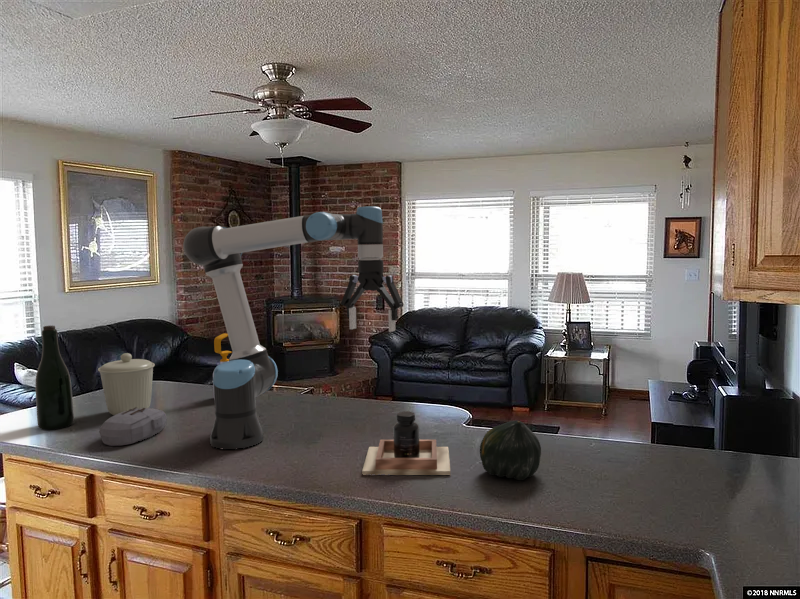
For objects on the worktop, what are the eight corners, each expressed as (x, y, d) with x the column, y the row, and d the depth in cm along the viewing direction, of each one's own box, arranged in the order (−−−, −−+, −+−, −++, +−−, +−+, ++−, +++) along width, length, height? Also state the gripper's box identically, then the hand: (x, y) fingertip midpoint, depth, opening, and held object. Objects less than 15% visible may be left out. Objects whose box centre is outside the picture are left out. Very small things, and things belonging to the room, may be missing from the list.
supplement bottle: (392, 454, 165) (391, 410, 163) (417, 452, 165) (417, 409, 164) (395, 463, 158) (394, 417, 157) (421, 461, 158) (420, 416, 157)
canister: (139, 403, 227) (135, 347, 225) (167, 410, 216) (164, 351, 214) (90, 415, 212) (86, 355, 210) (118, 423, 201) (115, 360, 199)
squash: (476, 440, 162) (482, 409, 151) (533, 442, 161) (543, 411, 150) (479, 491, 152) (485, 462, 141) (539, 493, 152) (550, 464, 141)
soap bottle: (243, 397, 232) (240, 333, 229) (221, 402, 225) (218, 336, 223) (230, 394, 238) (227, 331, 236) (209, 398, 231) (206, 334, 229)
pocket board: (362, 475, 153) (361, 461, 153) (369, 450, 171) (369, 438, 171) (450, 475, 152) (450, 461, 152) (448, 450, 170) (448, 437, 169)
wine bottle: (55, 432, 193) (47, 328, 190) (30, 429, 197) (22, 327, 194) (81, 422, 203) (75, 324, 200) (57, 420, 207) (50, 323, 203)
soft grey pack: (134, 426, 199) (87, 446, 180) (133, 401, 198) (85, 418, 179) (174, 429, 195) (130, 450, 175) (173, 403, 194) (128, 422, 175)
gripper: (413, 258, 179) (414, 330, 181) (342, 258, 191) (344, 326, 193) (402, 259, 173) (403, 334, 175) (328, 259, 184) (330, 329, 186)
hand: (372, 330), depth 184 cm, fingers open, 13 cm apart
